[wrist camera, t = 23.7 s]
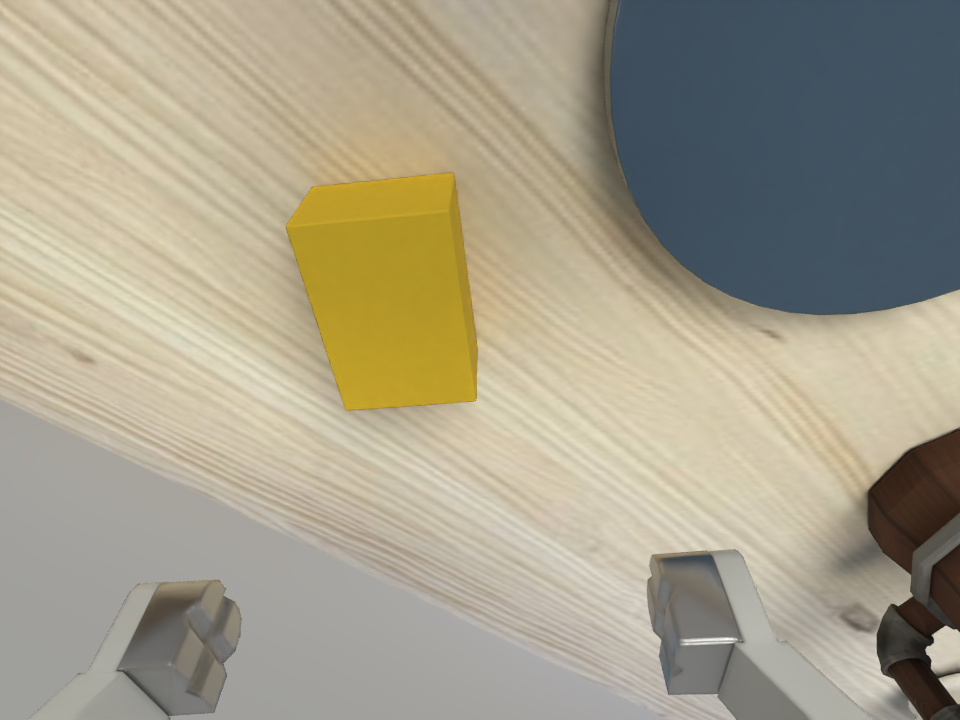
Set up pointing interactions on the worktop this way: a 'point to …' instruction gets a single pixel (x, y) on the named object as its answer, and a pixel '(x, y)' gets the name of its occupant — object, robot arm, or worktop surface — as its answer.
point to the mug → (921, 567)
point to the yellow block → (390, 289)
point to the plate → (794, 144)
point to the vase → (954, 684)
